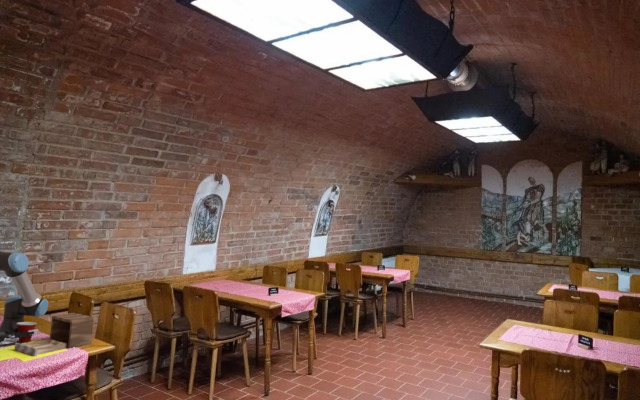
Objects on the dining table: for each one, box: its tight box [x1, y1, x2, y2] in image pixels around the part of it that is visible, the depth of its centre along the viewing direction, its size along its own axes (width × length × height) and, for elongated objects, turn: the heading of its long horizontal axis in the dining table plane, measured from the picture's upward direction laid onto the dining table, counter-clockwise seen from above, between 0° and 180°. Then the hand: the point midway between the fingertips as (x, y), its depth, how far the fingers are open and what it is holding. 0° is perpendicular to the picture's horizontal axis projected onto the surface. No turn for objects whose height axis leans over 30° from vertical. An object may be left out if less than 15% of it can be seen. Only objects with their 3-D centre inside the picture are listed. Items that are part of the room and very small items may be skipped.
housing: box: [49, 312, 94, 349], centre depth 285 cm, size 20×14×17 cm
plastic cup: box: [17, 321, 38, 344], centre depth 283 cm, size 11×11×12 cm
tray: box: [14, 338, 67, 357], centre depth 269 cm, size 20×20×4 cm
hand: (33, 330), depth 287 cm, fingers closed on plastic cup, 9 cm apart
